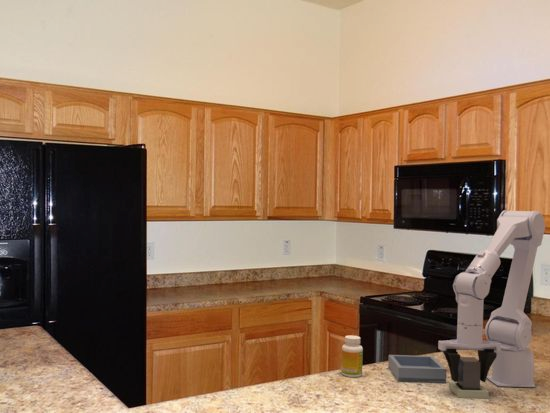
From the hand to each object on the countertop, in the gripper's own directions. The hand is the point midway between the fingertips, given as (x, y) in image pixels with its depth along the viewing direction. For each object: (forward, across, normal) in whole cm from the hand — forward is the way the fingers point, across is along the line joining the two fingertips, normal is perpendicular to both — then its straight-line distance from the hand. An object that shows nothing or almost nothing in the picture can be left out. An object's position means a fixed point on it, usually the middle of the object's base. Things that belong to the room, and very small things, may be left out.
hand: (468, 380), depth 131 cm
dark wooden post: (+3, 0, 0) cm, 3 cm away
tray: (+3, +8, -14) cm, 16 cm away
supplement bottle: (+3, +25, -14) cm, 29 cm away
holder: (+3, 0, 0) cm, 3 cm away
